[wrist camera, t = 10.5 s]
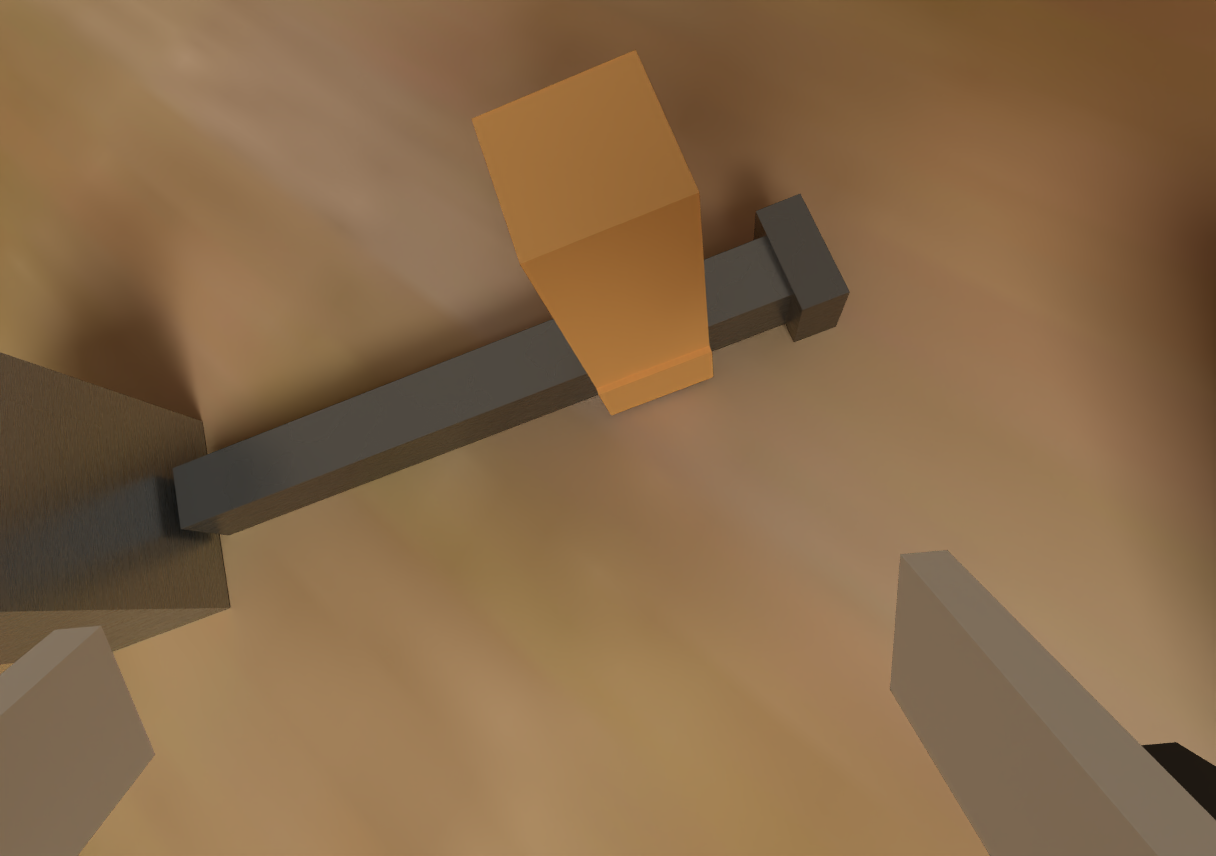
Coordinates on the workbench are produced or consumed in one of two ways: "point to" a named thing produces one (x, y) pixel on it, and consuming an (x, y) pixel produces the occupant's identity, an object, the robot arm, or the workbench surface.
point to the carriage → (606, 227)
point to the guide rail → (495, 387)
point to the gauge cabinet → (95, 514)
